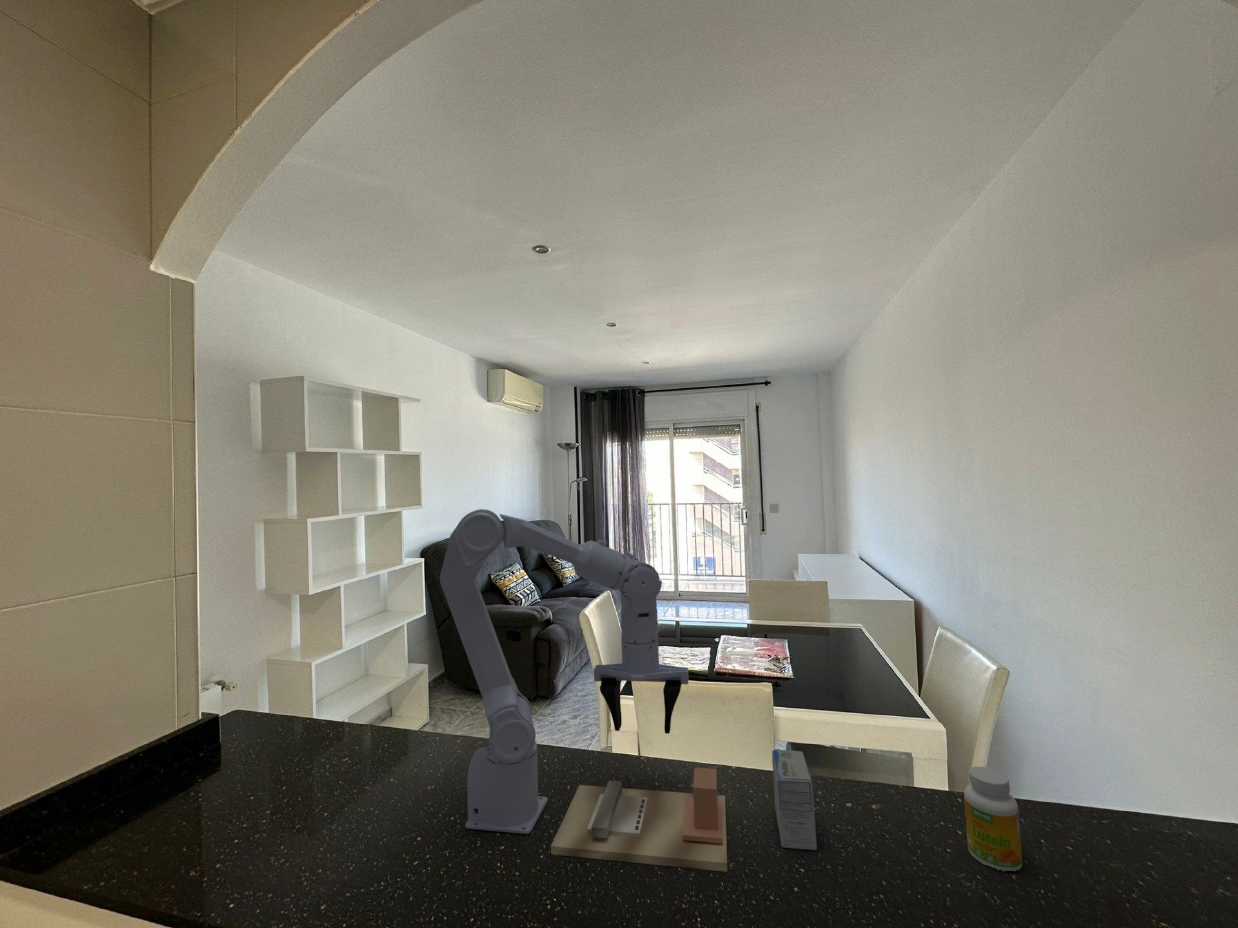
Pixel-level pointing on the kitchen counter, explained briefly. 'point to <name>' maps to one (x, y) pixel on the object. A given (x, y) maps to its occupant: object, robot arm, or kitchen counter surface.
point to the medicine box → (794, 800)
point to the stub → (703, 809)
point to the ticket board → (635, 829)
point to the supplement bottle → (992, 820)
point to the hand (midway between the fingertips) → (642, 729)
